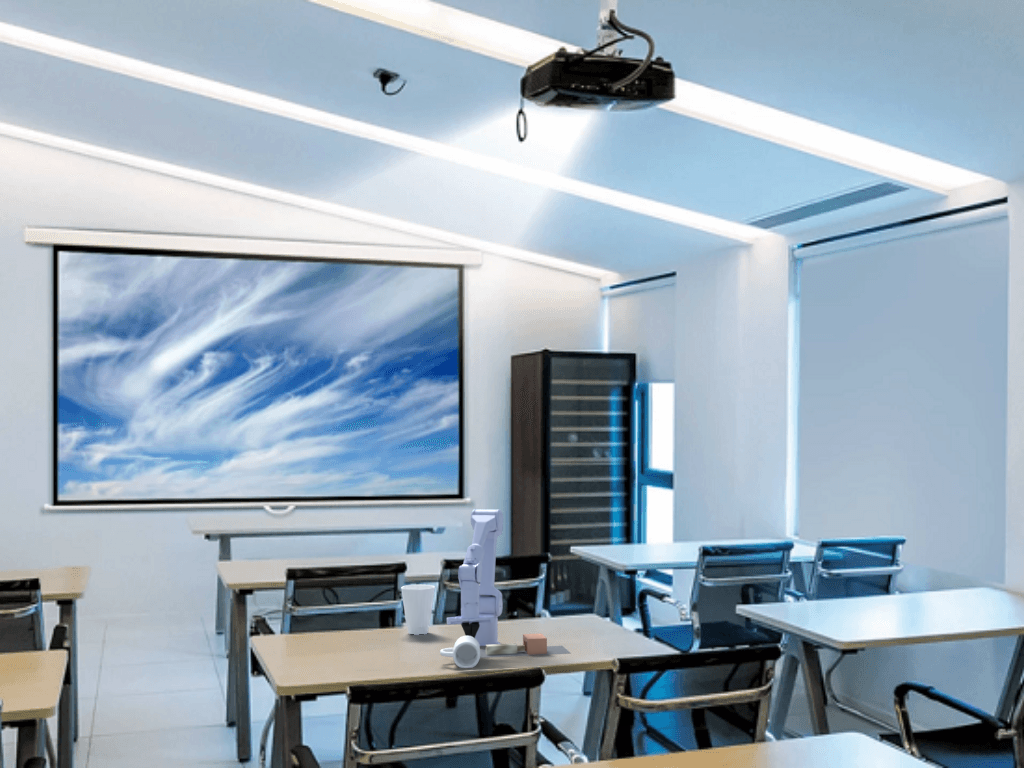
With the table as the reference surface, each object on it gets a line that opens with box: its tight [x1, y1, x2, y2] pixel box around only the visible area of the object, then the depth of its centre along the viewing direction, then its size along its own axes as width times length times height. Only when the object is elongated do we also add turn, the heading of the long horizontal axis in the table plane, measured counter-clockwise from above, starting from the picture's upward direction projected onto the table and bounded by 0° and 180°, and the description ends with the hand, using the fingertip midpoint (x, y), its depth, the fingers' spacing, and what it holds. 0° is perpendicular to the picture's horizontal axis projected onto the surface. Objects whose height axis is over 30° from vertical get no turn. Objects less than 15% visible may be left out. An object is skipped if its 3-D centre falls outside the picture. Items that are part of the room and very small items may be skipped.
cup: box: [400, 583, 436, 636], centre depth 366 cm, size 12×12×16 cm
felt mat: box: [480, 645, 571, 659], centre depth 331 cm, size 32×12×1 cm, turn 101°
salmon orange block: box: [522, 633, 548, 656], centre depth 332 cm, size 6×8×5 cm
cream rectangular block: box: [485, 643, 525, 655], centre depth 330 cm, size 12×3×3 cm, turn 101°
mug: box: [439, 635, 481, 669], centre depth 315 cm, size 12×10×8 cm
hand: (470, 646), depth 328 cm, fingers closed
